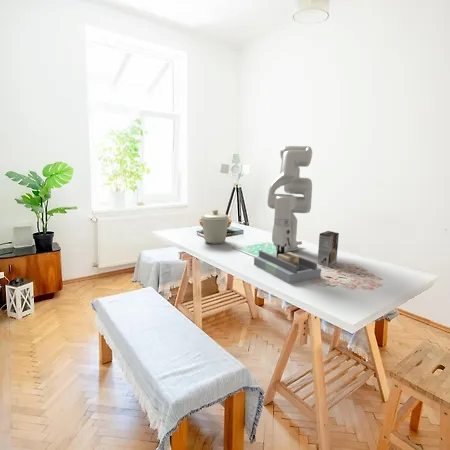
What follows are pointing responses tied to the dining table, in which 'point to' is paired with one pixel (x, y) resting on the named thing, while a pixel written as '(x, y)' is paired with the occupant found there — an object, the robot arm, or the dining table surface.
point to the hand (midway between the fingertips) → (280, 258)
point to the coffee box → (328, 248)
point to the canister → (215, 227)
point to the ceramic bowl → (228, 222)
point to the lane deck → (287, 267)
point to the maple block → (289, 258)
